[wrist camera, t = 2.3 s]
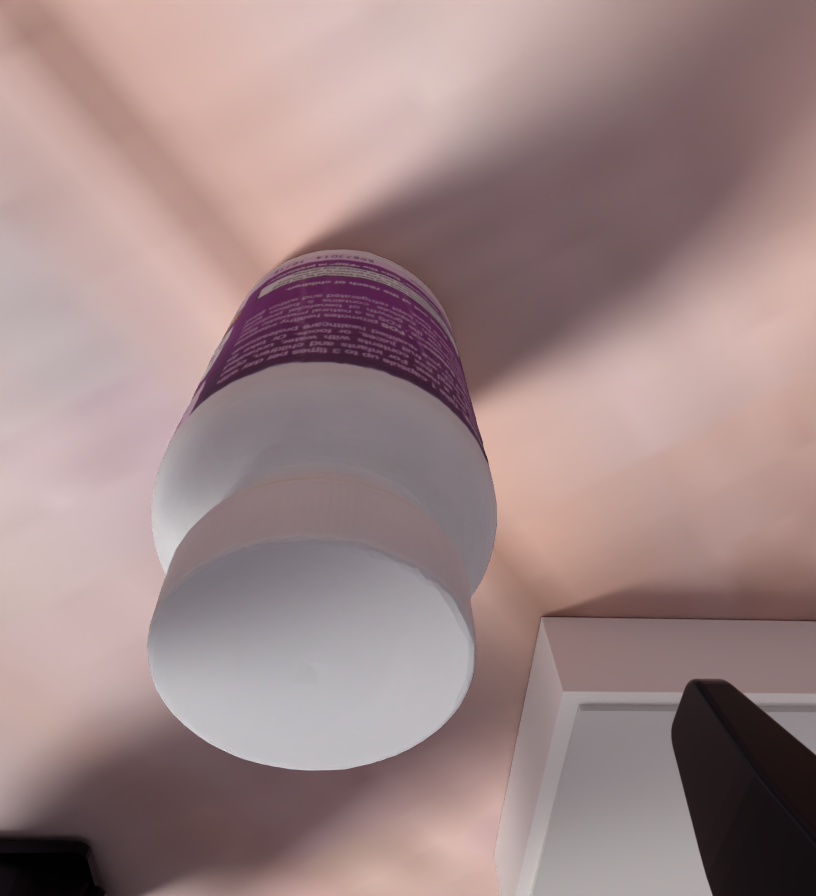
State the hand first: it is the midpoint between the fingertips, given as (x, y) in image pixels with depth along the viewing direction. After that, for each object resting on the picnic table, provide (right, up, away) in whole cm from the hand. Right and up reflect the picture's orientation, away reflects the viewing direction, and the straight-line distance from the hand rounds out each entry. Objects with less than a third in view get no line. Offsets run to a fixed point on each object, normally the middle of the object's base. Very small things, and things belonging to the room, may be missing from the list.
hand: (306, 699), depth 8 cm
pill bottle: (0, +5, +9) cm, 10 cm away
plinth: (+11, -7, +16) cm, 21 cm away
